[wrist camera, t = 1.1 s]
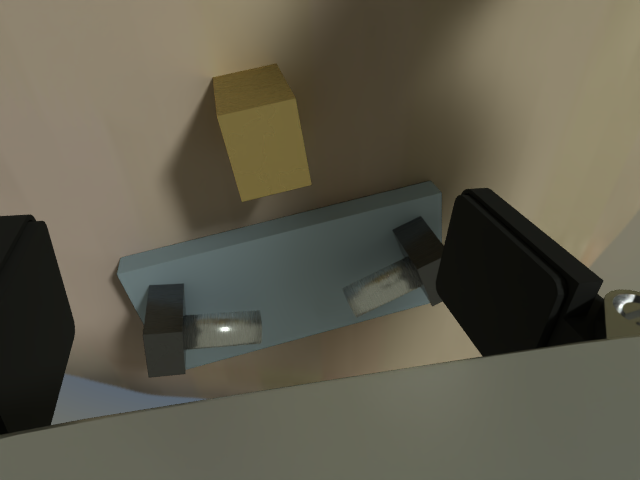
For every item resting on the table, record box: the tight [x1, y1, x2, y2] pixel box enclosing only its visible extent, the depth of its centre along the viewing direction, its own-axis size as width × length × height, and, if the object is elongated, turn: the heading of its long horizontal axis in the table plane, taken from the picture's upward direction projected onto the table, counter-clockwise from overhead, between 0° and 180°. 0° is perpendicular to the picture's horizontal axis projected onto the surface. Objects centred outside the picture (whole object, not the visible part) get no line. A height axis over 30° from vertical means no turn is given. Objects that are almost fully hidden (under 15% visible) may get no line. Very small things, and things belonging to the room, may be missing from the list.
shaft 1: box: [143, 283, 262, 377], centre depth 34 cm, size 8×4×5 cm, turn 84°
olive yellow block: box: [213, 64, 312, 202], centre depth 27 cm, size 5×4×7 cm
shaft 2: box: [342, 216, 444, 317], centre depth 35 cm, size 8×4×5 cm, turn 114°
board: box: [117, 181, 442, 369], centre depth 38 cm, size 24×11×2 cm, turn 99°
